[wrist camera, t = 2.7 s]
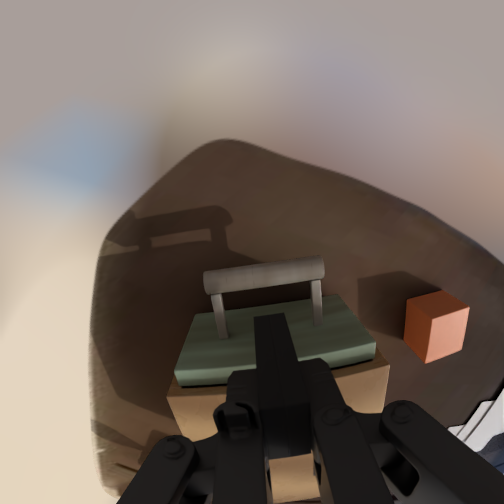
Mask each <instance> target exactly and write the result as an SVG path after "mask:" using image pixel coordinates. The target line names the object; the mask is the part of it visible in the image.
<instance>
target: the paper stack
mask: <svg viewBox="0 0 504 504" xmlns="http://www.w3.org/2000/svg"><path fill="white" fill-rule="evenodd" d="M448 430H449V431H450V432H451V433H452V434H454V435H455V436H456V437H457V438H459V439H460V440H461V441H462V442H464V443H465V444H466V445H467V446H468V447H470V448H471V449H472V450H473V451H475V452H476V451H480V450H482V449H483V447H484V446H485V445H486V444H487V443H488V442H489V440H490V439H491V438H492V437H493V436H494V435H497V434H500V433H503V432H504V389H503V391H502V392H501V394H500V395H499V397H498V398H497V400H495V401H487V402H482V403H481V405H480V406H479V408H478V409H477V411H476V412H475V413H474V415H473V416H472V417H471V419H470V420H469V421H468V423H467V424H466V425H461V426H455V427H449V428H448Z"/></svg>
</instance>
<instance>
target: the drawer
mask: <svg viewBox="0 0 504 504" xmlns="http://www.w3.org/2000/svg"><path fill="white" fill-rule="evenodd" d="M322 278H324V263H323V260H322V257H321V256H320V255H317V256H310V257H303V258H296V259H289V260H282V261H275V262H268V263H261V264H254V265H247V266H240V267H233V268H225V269H218V270H210V271H205V272H204V273H203V283H204V288H205V292H206V294H211V300H212V305H213V310H214V312H210V313H201V314H195V317H194V319H193V322H192V324H191V327H190V329H189V332H188V335H187V337H186V340H185V343H184V345H183V348H182V350H181V353H180V356H179V358H178V361H177V364H176V366H175V369H174V373H175V376H176V379H177V382H178V384H179V386H198V385H200V387H199V388H202V387H218V386H227V380H228V378H229V376H230V375H231V373H232V372H233V371H236V370H246V369H254V368H256V354H255V336H254V318H253V317H255V316H263V315H270V314H277V313H283V312H284V314H285V317H286V321H287V324H288V327H289V331H290V334H291V338H292V341H293V344H294V348H295V351H296V355H297V358H298V361H303V360H309V359H314V358H319V357H320V358H321V359H323V360H324V361H325V362H327V363H328V365H329V367H330V369H331V371H332V370H337V369H341V368H346V367H350V366H355V365H354V363H358V362H362V361H366V360H370V359H374V358H375V348H376V341H375V340H374V339H373V338H372V336H371V335H370V334H369V332H368V331H367V330H366V329H365V327H364V326H363V325H362V324H361V322H360V321H359V320H358V319H357V317H356V316H355V315H354V314H353V312H352V311H351V310H350V309H349V307H348V306H347V305H346V304H345V302H344V301H343V300H342V299H341V297H340V296H339V295H338V294H335V295H329V296H324V297H321V282H320V279H322ZM302 281H309V284H310V297H311V299H305V300H299V301H293V302H286V303H280V304H273V305H266V306H258V307H251V308H243V309H236V310H228V311H225V310H224V305H223V299H222V294H221V293H224V292H232V291H240V290H247V289H254V288H262V287H269V286H276V285H283V284H289V283H296V282H302Z"/></svg>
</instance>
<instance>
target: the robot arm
mask: <svg viewBox="0 0 504 504" xmlns="http://www.w3.org/2000/svg"><path fill="white" fill-rule="evenodd" d="M253 318H254V336H255V354H256V368H254V369H246V370H236V371H233V372H232V373H231V375H230V376H229V378H228V380H227V391H226V402H224V403H222V404H220V405H219V406H218V407H217V408H216V409H215V410H214V412H213V415H212V416H213V419H214V422H215V425H216V428H217V431H218V432H217V433H216V434H214V435H213V436H211V437H208V438H206V439H202V440H198V441H194V442H192V441H191V440H190V439H189V438H187V437H185V436H182V435H172V436H168V437H165V438H163V439H161V440H160V441H159V442H158V443H157V444H156V445H155V446H154V448H153V449H152V451H151V452H150V454H149V455H148V457H147V458H146V460H145V461H144V463H143V464H142V466H141V467H140V469H139V471H138V472H137V474H136V475H135V477H134V478H133V480H132V481H131V483H130V484H129V486H128V487H127V489H126V490H125V492H124V493H123V495H122V496H121V497H120V499H119V500H118V502H117V503H116V504H210V503H211V501H212V504H273V493H272V482H271V471H270V467H269V460H272V459H280V458H287V457H294V456H300V455H306V454H311V449H312V454H313V476H315V475H316V479H317V484H318V489H319V493H320V498H321V502H322V504H394V501H393V499H392V496H391V494H390V492H389V489H390V490H391V491H392V493H393V494H394V495H395V496H396V497H397V498H398V500H399V501H400V502H401V503H402V504H504V475H503V474H502V473H501V472H500V471H498V470H497V469H496V468H495V467H493V466H492V465H491V464H490V463H488V462H487V461H486V460H485V459H483V458H482V457H481V456H480V455H478V454H477V453H476V452H475V451H473V450H472V449H471V448H470V447H468V446H467V445H466V444H465V443H464V442H462V441H461V440H460V439H459V438H457V437H456V436H455V435H454V434H452V433H451V432H450V431H449V430H448V429H446V428H445V427H444V426H443V425H441V424H440V423H439V422H438V421H437V420H435V419H434V418H433V417H432V416H430V415H429V414H428V413H427V412H426V411H424V410H423V409H422V408H421V407H420V406H418V405H417V404H415V403H413V402H411V401H406V400H400V401H395V402H392V403H389V404H388V405H387V406H386V407H384V409H383V411H382V413H360V412H356V411H354V410H353V409H352V408H351V407H350V406H348V405H346V403H345V401H344V399H343V396H342V394H341V392H340V390H339V387H338V385H337V383H336V380H335V379H334V376H333V374H332V372H331V369H330V367H329V365H328V363H327V362H325V361H324V360H323V359H321V358H320V357H319V358H314V359H309V360H303V361H298V358H297V355H296V351H295V348H294V344H293V341H292V338H291V334H290V331H289V327H288V324H287V321H286V317H285V314H284V312H283V313H277V314H270V315H263V316H255V317H253ZM388 488H389V489H388Z"/></svg>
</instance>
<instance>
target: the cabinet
mask: <svg viewBox="0 0 504 504" xmlns="http://www.w3.org/2000/svg"><path fill="white" fill-rule="evenodd" d="M354 365H355V366H350V367H346V368H341V369H337V370H332V371H331V372H332V374H333V376H334V379H335V380H336V383H337V385H338V387H339V390H340V392H341V394H342V396H343V399H344V401H345V403H346V405H348V406H350V407H351V408H352V409H353V410H354V411H356V412H360V413H382V411H383V406H384V400H385V394H386V388H387V382H388V375H389V368H390V364H389V363H388V361H387V360H386V359H385V358H384V356H383V355H382V354H381V352H380V351H379V350H378V348H377V347H376V348H375V358H374V359H370V360H366V361H362V362H358V363H354ZM199 387H200V385H198V386H179V384H178V382H177V379H176V376H175V374H174V377H173V379H172V382H171V385H170V388H169V390H168V393H167V396H166V397H167V400H168V402H169V405H170V407H171V410H172V412H173V414H174V417H175V419H176V421H177V423H178V426H179V428H180V430H181V432H182V434H183V436H185V437H187V438H189V439H190V440H191V441H192V442H194V441H198V440H202V439H206V438H208V437H211V436H213V435H214V434H216V433H217V432H218V431H217V428H216V425H215V422H214V419H213V416H212V415H213V412H214V410H215V409H216V408H217V407H218V406H219V405H220V404H222V403H224V402H226V391H227V386H218V387H202V388H199ZM269 467H270V471H271V482H272V493H273V503H282V502H290V501H297V500H303V499H309V498H315V497H320V493H319V489H318V484H317V479H316V475H315V476H313V454H312V449H311V454H306V455H300V456H294V457H287V458H280V459H272V460H269Z"/></svg>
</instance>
